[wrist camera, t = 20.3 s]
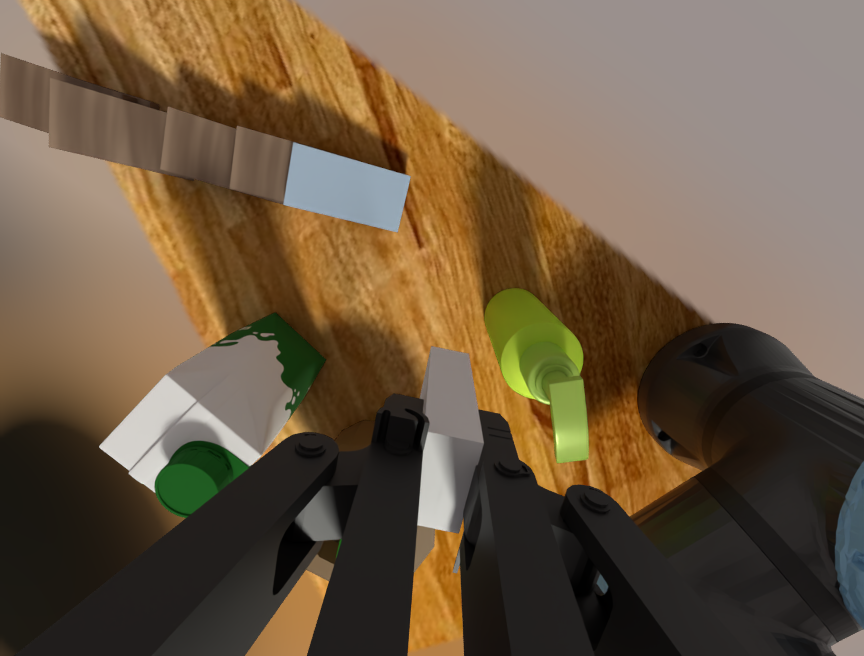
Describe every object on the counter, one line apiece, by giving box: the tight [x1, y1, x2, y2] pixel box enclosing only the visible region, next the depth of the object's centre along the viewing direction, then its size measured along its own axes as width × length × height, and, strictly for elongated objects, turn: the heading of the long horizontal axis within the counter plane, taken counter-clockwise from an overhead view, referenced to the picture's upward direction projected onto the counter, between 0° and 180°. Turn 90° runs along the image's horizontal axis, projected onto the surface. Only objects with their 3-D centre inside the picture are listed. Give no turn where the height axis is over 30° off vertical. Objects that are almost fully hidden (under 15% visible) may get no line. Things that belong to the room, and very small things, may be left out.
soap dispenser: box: [484, 288, 589, 463], centre depth 34 cm, size 6×7×20 cm
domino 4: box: [229, 126, 358, 202], centre depth 38 cm, size 2×5×10 cm
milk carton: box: [99, 313, 326, 518], centre depth 36 cm, size 9×9×20 cm
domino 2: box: [49, 78, 194, 181], centre depth 36 cm, size 2×5×10 cm
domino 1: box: [0, 53, 138, 133], centre depth 37 cm, size 2×5×10 cm
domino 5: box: [283, 142, 411, 232], centre depth 38 cm, size 2×5×10 cm
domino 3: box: [160, 107, 284, 204], centre depth 38 cm, size 2×5×10 cm
